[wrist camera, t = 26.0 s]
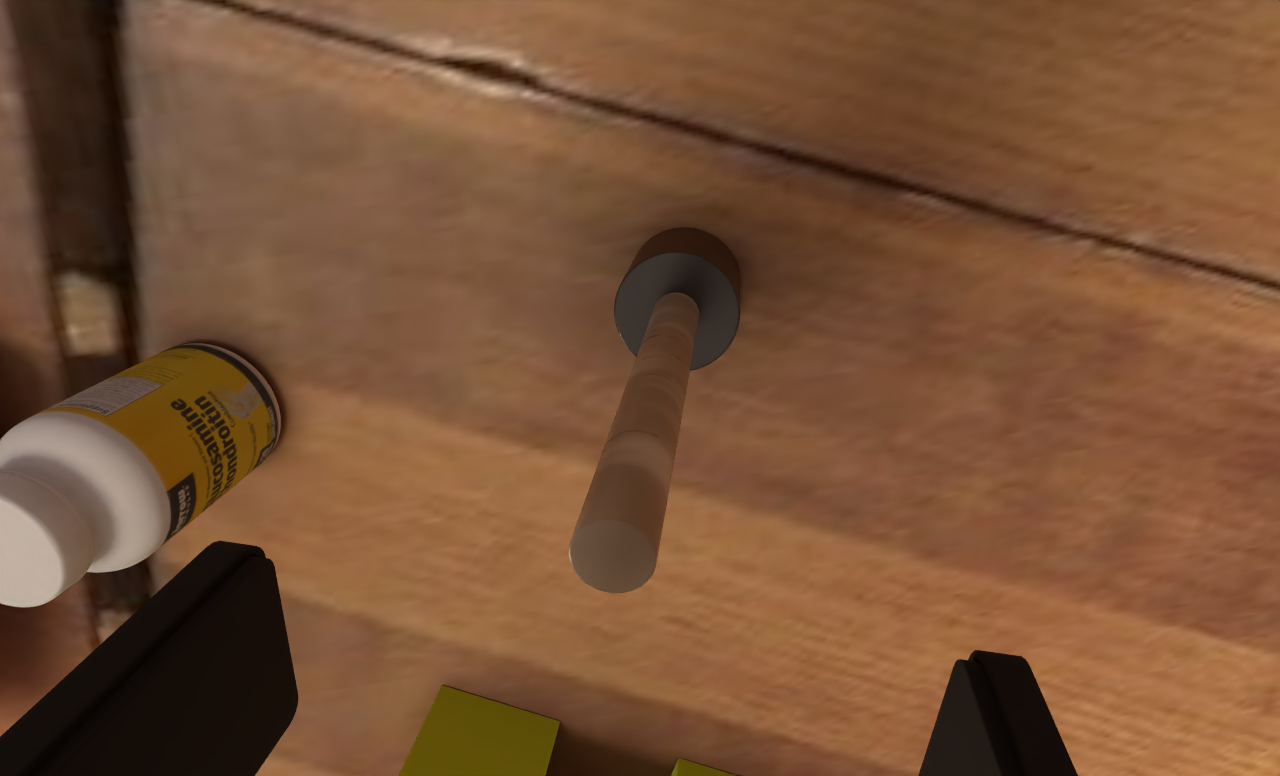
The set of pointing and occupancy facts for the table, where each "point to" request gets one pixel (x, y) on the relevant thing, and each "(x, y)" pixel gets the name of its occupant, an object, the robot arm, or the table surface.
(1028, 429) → the table surface
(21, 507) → the pill bottle
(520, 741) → the decorative object
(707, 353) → the scrub brush
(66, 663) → the table surface
